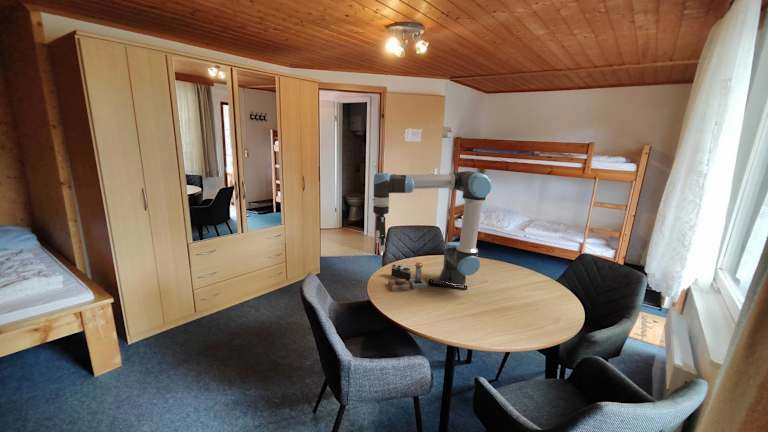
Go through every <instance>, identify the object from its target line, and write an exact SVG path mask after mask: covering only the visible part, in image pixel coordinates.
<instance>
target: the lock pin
mask: <svg viewBox="0 0 768 432" xmlns="http://www.w3.org/2000/svg"><path fill="white" fill-rule="evenodd" d="M414 266H415V277H414V279H415V284H419V283H421V279H422V271H423V270H422V269H423V268H422V267H423V263H422V262H415V264H414Z"/></svg>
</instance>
